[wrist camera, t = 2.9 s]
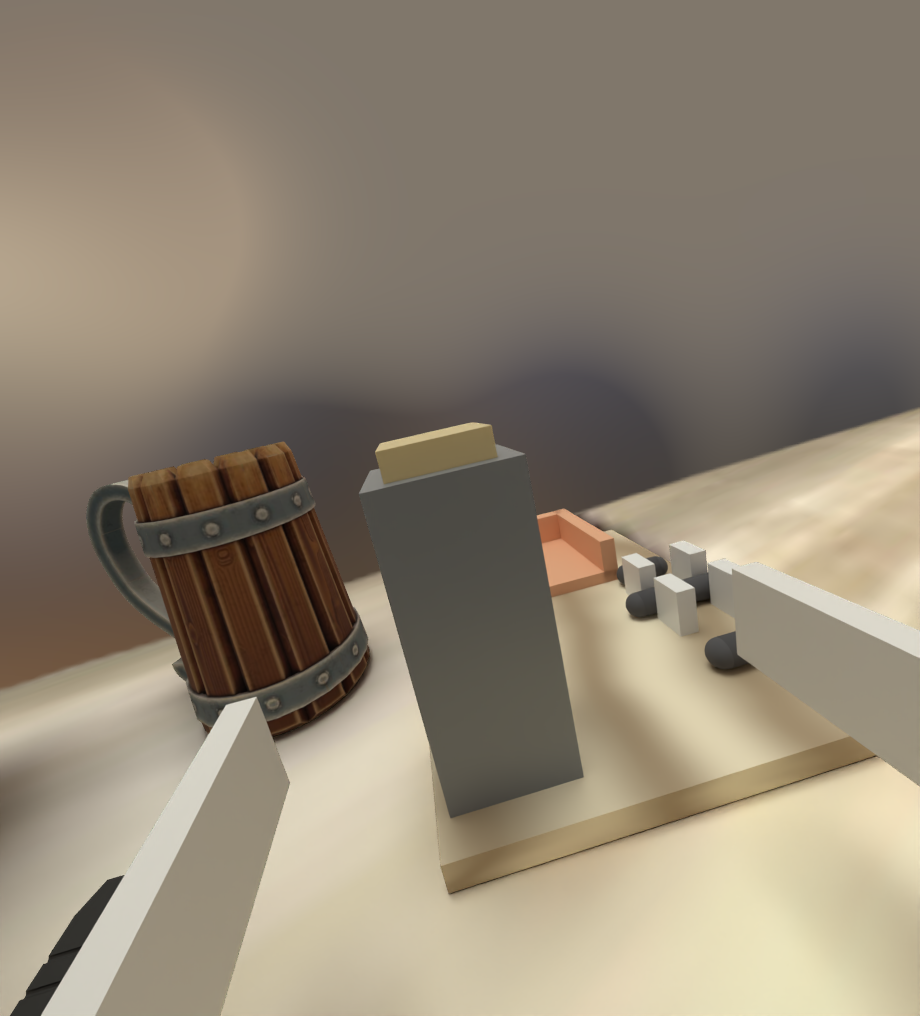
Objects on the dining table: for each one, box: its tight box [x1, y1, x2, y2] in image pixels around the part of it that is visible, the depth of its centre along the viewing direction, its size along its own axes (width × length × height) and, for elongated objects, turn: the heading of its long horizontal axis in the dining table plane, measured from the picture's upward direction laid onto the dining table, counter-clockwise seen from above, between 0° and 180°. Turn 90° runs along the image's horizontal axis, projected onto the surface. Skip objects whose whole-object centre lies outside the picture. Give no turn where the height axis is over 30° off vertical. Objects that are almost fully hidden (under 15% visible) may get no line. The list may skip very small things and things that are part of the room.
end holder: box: [537, 509, 618, 597], centre depth 33 cm, size 10×9×3 cm
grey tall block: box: [359, 423, 584, 818], centre depth 16 cm, size 5×5×13 cm
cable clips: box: [621, 541, 739, 637], centre depth 25 cm, size 4×6×2 cm
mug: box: [86, 442, 369, 737], centre depth 27 cm, size 16×11×15 cm
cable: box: [617, 556, 749, 669], centre depth 24 cm, size 8×11×1 cm
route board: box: [429, 530, 876, 893], centre depth 26 cm, size 18×24×1 cm
